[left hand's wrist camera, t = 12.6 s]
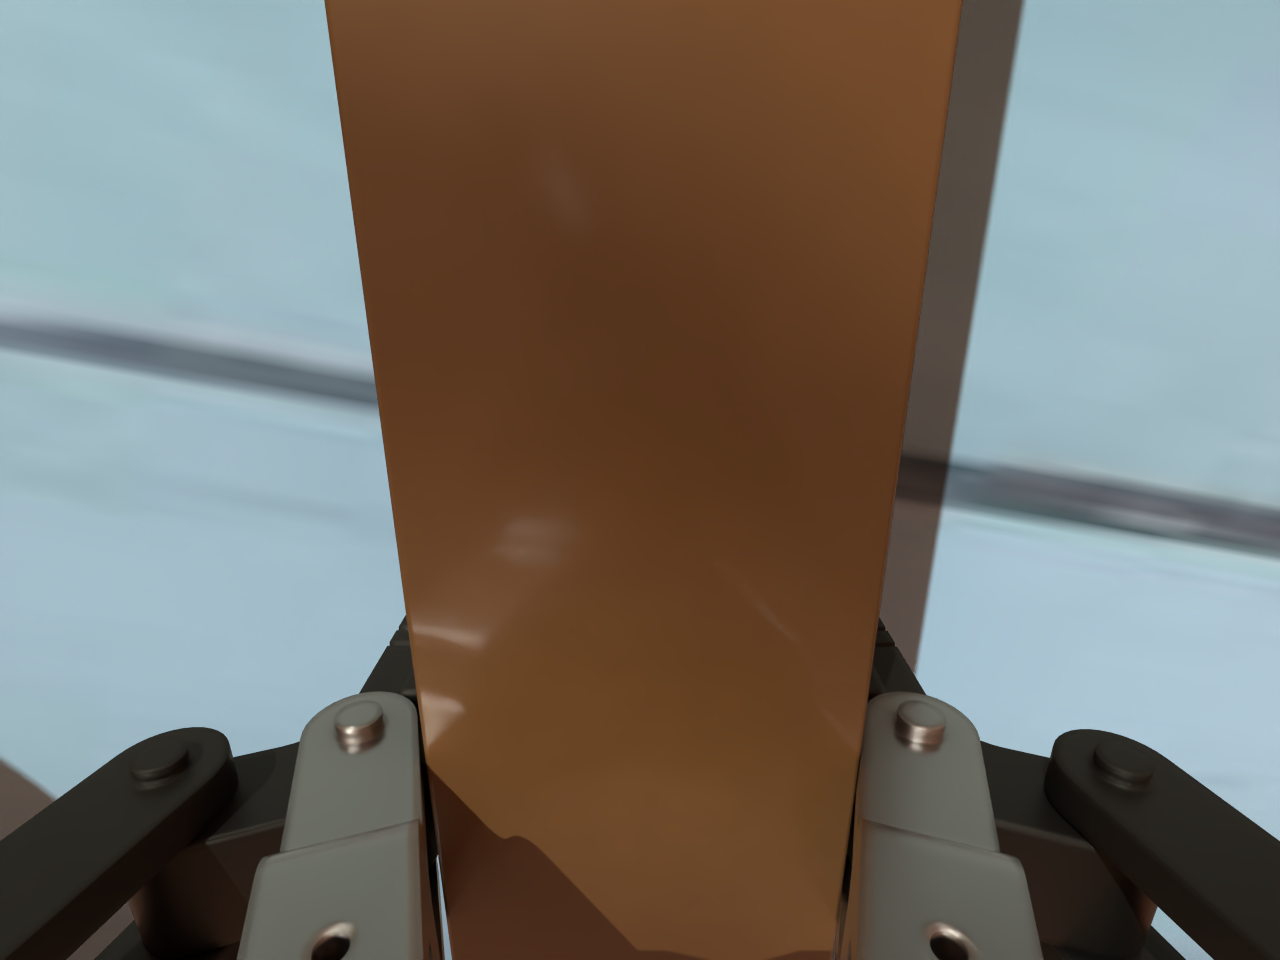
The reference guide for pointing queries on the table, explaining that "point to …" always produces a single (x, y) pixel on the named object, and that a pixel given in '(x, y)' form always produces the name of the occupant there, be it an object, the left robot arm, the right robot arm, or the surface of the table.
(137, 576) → the table surface
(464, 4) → the bar
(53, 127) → the table surface
